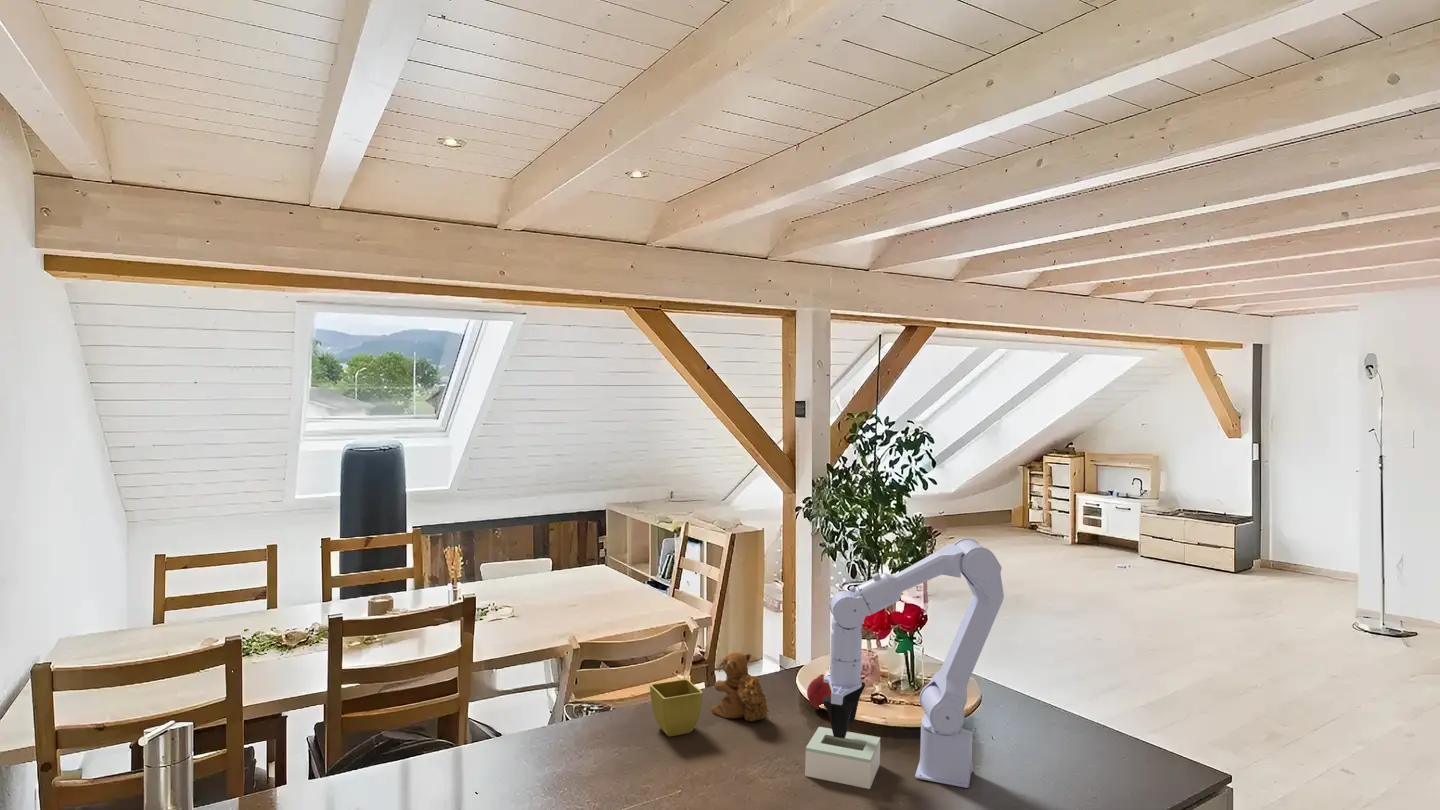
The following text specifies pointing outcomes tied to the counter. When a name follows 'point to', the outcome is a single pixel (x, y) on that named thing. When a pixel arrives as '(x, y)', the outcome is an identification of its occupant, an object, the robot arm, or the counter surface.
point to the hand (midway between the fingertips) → (844, 728)
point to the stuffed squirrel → (740, 690)
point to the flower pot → (676, 706)
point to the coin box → (843, 758)
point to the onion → (818, 691)
